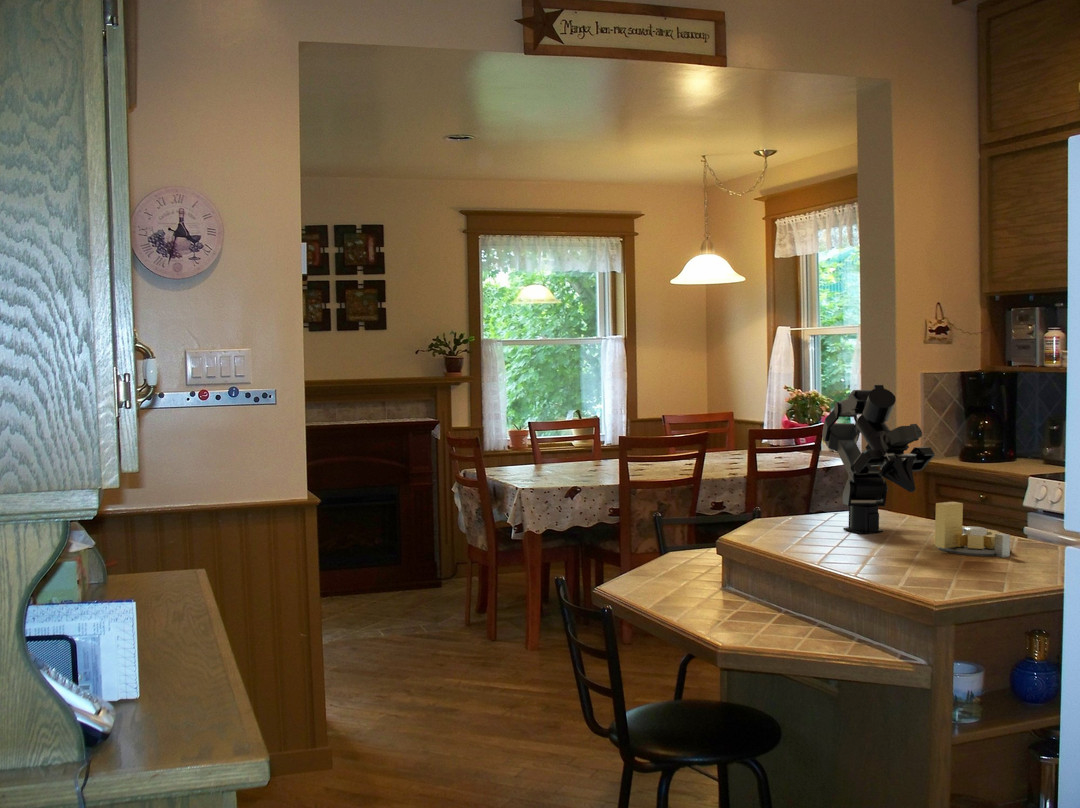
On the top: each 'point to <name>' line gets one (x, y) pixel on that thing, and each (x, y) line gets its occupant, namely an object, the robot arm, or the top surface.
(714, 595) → the top surface
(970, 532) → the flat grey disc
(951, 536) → the beige block cluster
